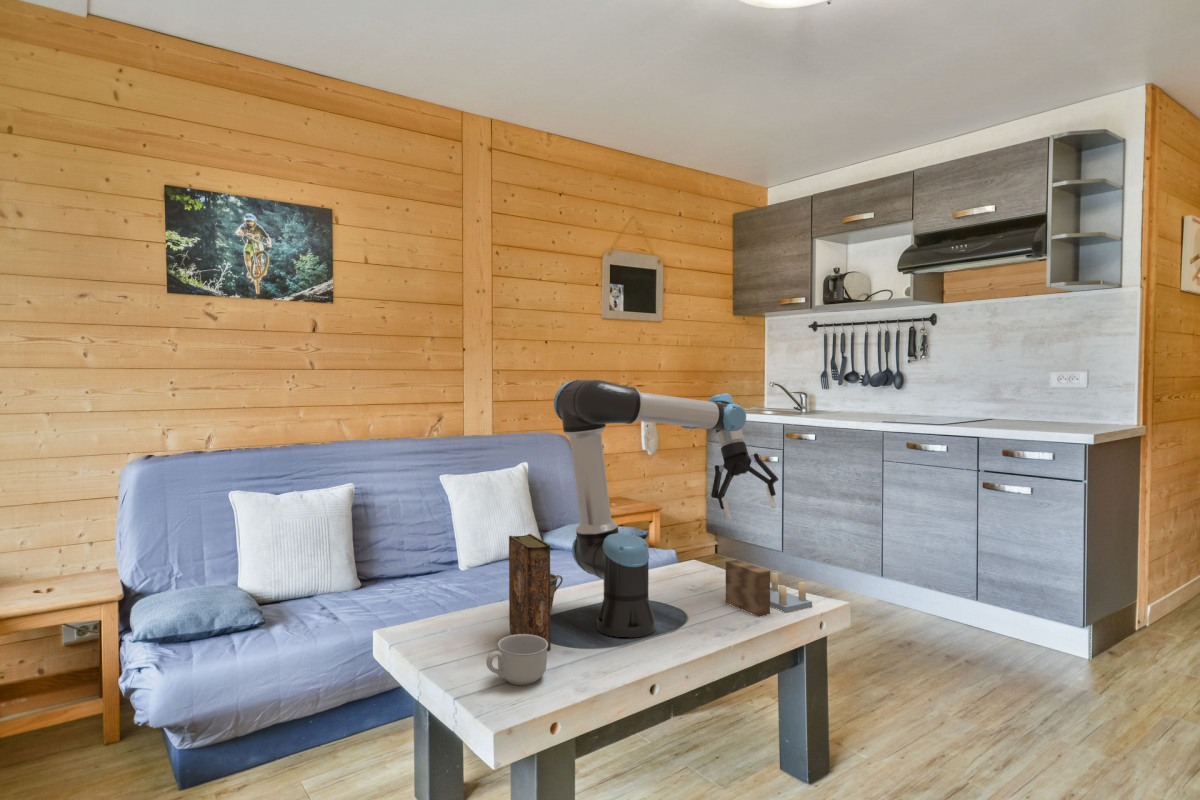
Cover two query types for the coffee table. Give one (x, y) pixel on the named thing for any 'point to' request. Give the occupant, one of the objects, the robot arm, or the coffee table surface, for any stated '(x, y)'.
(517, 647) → the teacup
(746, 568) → the board
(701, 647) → the coffee table surface
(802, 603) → the cradle
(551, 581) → the ceramic cup
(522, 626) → the book
